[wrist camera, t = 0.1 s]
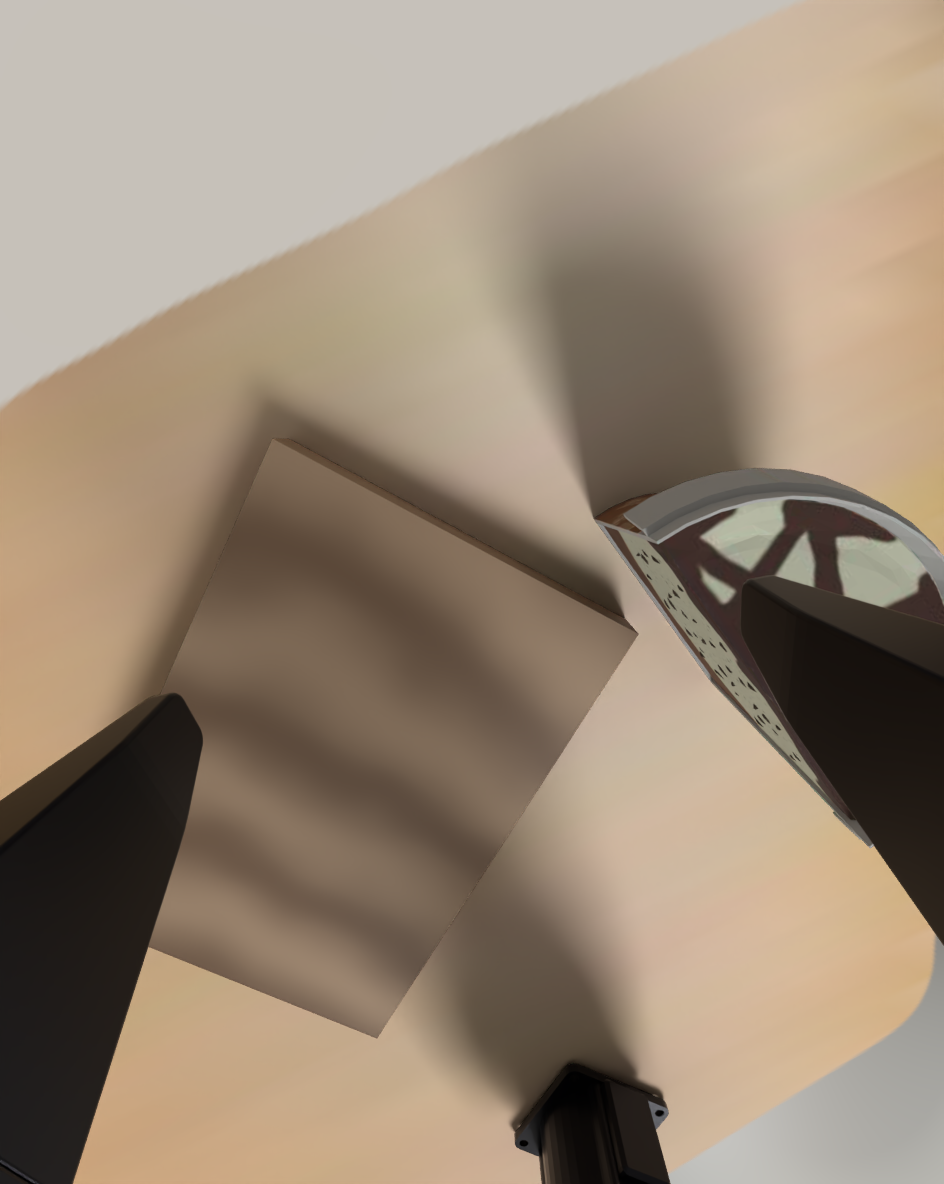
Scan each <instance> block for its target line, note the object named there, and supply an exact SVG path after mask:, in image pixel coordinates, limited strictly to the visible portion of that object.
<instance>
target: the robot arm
mask: <svg viewBox="0 0 944 1184" xmlns="http://www.w3.org/2000/svg"><path fill="white" fill-rule="evenodd" d="M740 629H741V634H742V637H743V640H744V642H745V644H746V646H747V648H748V649H749V651H750V653H751V655H752V657H753V659H754V661H755V663H756V664H757V666H758V668H759V670H760V672H761V674H762V676H763V677H764V679H765V681H766V683H767V685H768V687H769V689H770V691H771V692H772V694H773V696H774V698H775V700H776V702H777V704H778V706H779V707H780V709H781V711H782V713H783V714H784V716H785V718H786V720H787V721H788V723H789V724H790V726H791V727H792V729H793V730H794V732H795V733H796V735H797V736H798V738H799V739H800V740H801V742H802V743H803V745H804V746H805V748H806V749H807V750H808V752H809V753H810V755H811V756H812V758H813V759H814V760H815V762H816V763H817V765H818V766H819V768H820V769H821V770H822V772H823V773H824V775H825V776H826V778H827V779H828V781H829V782H830V783H831V785H832V786H833V788H834V789H835V791H836V792H837V793H838V795H839V796H840V798H841V799H842V801H843V802H844V803H845V805H846V806H847V808H848V809H849V811H850V812H851V813H852V815H853V816H854V818H855V819H856V821H857V822H858V824H859V825H860V826H861V828H862V829H863V831H864V832H865V834H866V835H867V836H868V838H869V839H870V841H871V842H872V844H873V845H874V846H875V848H876V849H877V851H878V852H879V854H880V855H881V856H882V858H883V859H884V861H885V862H886V864H887V865H888V867H889V868H890V869H891V871H892V872H893V874H894V875H895V877H896V878H897V879H898V881H899V882H900V884H901V885H902V887H903V888H904V889H905V891H906V892H907V894H908V895H909V897H910V898H911V899H912V901H913V902H914V904H915V905H916V907H917V908H918V910H919V911H920V912H921V914H922V915H923V917H924V918H925V920H926V921H927V922H928V924H929V925H930V927H931V928H932V930H933V931H934V932H935V934H936V935H937V937H938V938H939V940H940V941H941V942H942V944H943V945H944V625H943V624H939V623H936V622H932V621H929V620H925V619H922V618H919V617H915V616H912V615H908V614H905V613H901V612H898V611H895V610H891V609H888V608H884V607H881V606H877V605H874V604H870V603H867V602H864V601H860V600H857V599H853V598H850V597H846V596H843V595H839V594H836V593H833V592H829V591H826V590H822V589H819V588H815V587H812V586H809V585H805V584H802V583H798V582H795V581H791V580H788V579H784V578H781V577H778V576H774V575H768V576H763V577H758V578H753V579H749V580H746V581H745V582H744V584H743V586H742V591H741V615H740ZM202 747H203V735H202V731H201V729H200V727H199V725H198V723H197V722H196V720H195V718H194V716H193V715H192V713H191V711H190V709H189V708H188V706H187V704H186V702H185V700H184V699H183V698H182V696H180V695H179V694H177V693H167V694H162V695H157V696H152V697H150V698H148V699H146V700H145V701H143V702H142V703H140V704H139V705H138V706H136V707H135V708H133V709H132V710H130V711H129V712H127V713H126V714H125V715H123V716H122V717H120V718H119V719H117V720H116V721H114V722H113V723H112V724H110V725H109V726H107V727H106V728H104V729H103V730H102V731H100V732H99V733H97V734H96V735H94V736H93V737H91V738H90V739H89V740H87V741H86V742H84V743H83V744H81V745H80V746H78V747H77V748H76V749H74V750H73V751H71V752H70V753H68V754H67V755H65V756H64V757H63V758H61V759H60V760H58V761H57V762H55V763H54V764H52V765H51V766H50V767H48V768H47V769H45V770H44V771H42V772H41V773H40V774H38V775H37V776H35V777H34V778H32V779H31V780H29V781H28V782H27V783H25V784H24V785H22V786H21V787H19V788H18V789H16V790H15V791H14V792H12V793H11V794H9V795H8V796H6V797H5V798H3V799H2V800H1V801H0V1184H73V1181H74V1178H75V1175H76V1172H77V1169H78V1166H79V1163H80V1159H81V1156H82V1153H83V1150H84V1147H85V1144H86V1141H87V1137H88V1134H89V1131H90V1128H91V1125H92V1122H93V1119H94V1115H95V1112H96V1109H97V1106H98V1103H99V1100H100V1097H101V1093H102V1090H103V1087H104V1084H105V1081H106V1078H107V1075H108V1072H109V1068H110V1065H111V1062H112V1059H113V1056H114V1053H115V1050H116V1046H117V1043H118V1040H119V1037H120V1034H121V1031H122V1028H123V1024H124V1021H125V1018H126V1015H127V1012H128V1009H129V1006H130V1002H131V999H132V996H133V993H134V990H135V987H136V984H137V981H138V977H139V974H140V971H141V968H142V965H143V962H144V959H145V955H146V952H147V949H148V946H149V943H150V940H151V937H152V933H153V930H154V927H155V924H156V921H157V918H158V915H159V911H160V908H161V905H162V902H163V899H164V896H165V893H166V890H167V886H168V883H169V880H170V877H171V874H172V871H173V868H174V864H175V861H176V858H177V855H178V852H179V849H180V846H181V842H182V839H183V835H184V832H185V828H186V823H187V819H188V815H189V810H190V805H191V800H192V795H193V791H194V786H195V781H196V776H197V771H198V766H199V761H200V756H201V751H202ZM668 1114H669V1113H668V1108H667V1105H666V1102H665V1101H664V1100H662V1099H660V1098H658V1097H655V1096H653V1095H650V1094H648V1093H646V1092H643V1091H641V1090H638V1089H636V1088H634V1087H631V1086H629V1085H626V1084H624V1083H622V1082H619V1081H617V1080H614V1079H612V1078H610V1077H607V1076H605V1075H602V1074H600V1073H597V1072H595V1071H593V1070H590V1069H588V1068H585V1067H583V1066H581V1065H578V1064H569V1065H567V1066H566V1067H565V1068H564V1069H563V1071H562V1072H561V1073H560V1075H559V1076H558V1077H557V1079H556V1080H555V1081H554V1082H553V1084H552V1085H551V1086H550V1088H549V1089H548V1090H547V1092H546V1093H545V1094H544V1096H543V1097H542V1098H541V1099H540V1101H539V1102H538V1103H537V1105H536V1106H535V1107H534V1109H533V1110H532V1111H531V1112H530V1114H529V1115H528V1116H527V1118H526V1119H525V1120H524V1122H523V1123H522V1124H521V1126H520V1127H519V1128H518V1129H517V1131H516V1132H515V1145H516V1147H517V1148H519V1149H521V1150H524V1151H526V1152H529V1153H531V1154H534V1155H536V1156H539V1161H540V1171H541V1181H542V1184H671V1183H670V1180H669V1176H668V1172H667V1169H666V1165H665V1161H664V1158H663V1154H662V1150H661V1147H660V1143H659V1139H658V1136H657V1132H656V1129H657V1128H658V1127H659V1125H660V1124H661V1123H662V1122H663V1121H664V1120H665V1118H666V1117H667V1116H668Z"/></svg>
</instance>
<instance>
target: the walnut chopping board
mask: <svg viewBox="0 0 944 1184" xmlns="http://www.w3.org/2000/svg"><path fill="white" fill-rule="evenodd" d="M637 636H638V633H637V632H636V631H635V629H634V628H633V627H632V626H631V625H630V624H629V623H628V621H627V620H626V619H624V618H622V617H621V616H619V615H617V614H615V613H613V612H611V611H609V610H607V609H606V608H604V607H602V606H600V605H598V604H596V603H594V602H593V601H591V600H589V599H587V598H585V597H583V596H581V595H579V594H578V593H576V592H574V591H572V590H570V589H568V588H566V587H565V586H563V585H561V584H559V583H557V582H555V581H553V580H551V579H550V578H548V577H546V576H544V575H542V574H540V573H538V572H537V571H535V570H533V569H531V568H529V567H527V566H525V565H523V564H522V563H520V562H518V561H516V560H514V559H512V558H510V557H509V556H507V555H505V554H503V553H501V552H499V551H497V550H495V549H494V548H492V547H490V546H488V545H486V544H484V543H482V542H481V541H479V540H477V539H475V538H473V537H471V536H469V535H467V534H466V533H464V532H462V531H460V530H458V529H456V528H454V527H453V526H451V525H449V524H447V523H445V522H443V521H441V520H439V519H438V518H436V517H434V516H432V515H430V514H428V513H426V512H425V511H423V510H421V509H419V508H417V507H415V506H413V505H411V504H410V503H408V502H406V501H404V500H402V499H400V498H398V497H397V496H395V495H393V494H391V493H389V492H387V491H385V490H383V489H382V488H380V487H378V486H376V485H374V484H372V483H370V482H369V481H367V480H365V479H363V478H361V477H359V476H357V475H355V474H354V473H352V472H350V471H348V470H346V469H344V468H342V467H341V466H339V465H337V464H335V463H333V462H331V461H329V460H328V459H326V458H324V457H322V456H320V455H318V454H316V453H314V452H313V451H311V450H309V449H307V448H305V447H303V446H301V445H300V444H298V443H296V442H294V441H292V440H290V439H272V440H271V443H270V445H269V447H268V450H267V452H266V454H265V456H264V459H263V461H262V463H261V466H260V468H259V470H258V472H257V475H256V477H255V479H254V481H253V484H252V486H251V488H250V491H249V493H248V495H247V497H246V500H245V502H244V504H243V507H242V509H241V511H240V513H239V516H238V518H237V520H236V523H235V525H234V527H233V529H232V532H231V534H230V536H229V538H228V541H227V543H226V545H225V548H224V550H223V552H222V554H221V557H220V559H219V561H218V564H217V566H216V568H215V570H214V573H213V575H212V577H211V579H210V582H209V584H208V586H207V589H206V591H205V593H204V595H203V598H202V600H201V602H200V605H199V607H198V609H197V611H196V614H195V616H194V618H193V620H192V623H191V625H190V627H189V630H188V632H187V634H186V636H185V639H184V641H183V643H182V646H181V648H180V650H179V652H178V655H177V657H176V659H175V661H174V664H173V666H172V668H171V671H170V673H169V675H168V677H167V680H166V682H165V684H164V687H163V689H162V691H161V693H160V695H162V694H167V693H177V694H179V695H180V696H182V698H183V699H184V700H185V702H186V704H187V706H188V708H189V709H190V711H191V713H192V715H193V716H194V718H195V720H196V722H197V723H198V725H199V727H200V729H201V731H202V735H203V747H202V751H201V756H200V761H199V766H198V771H197V776H196V781H195V786H194V791H193V795H192V800H191V805H190V810H189V815H188V819H187V823H186V828H185V832H184V835H183V839H182V842H181V846H180V849H179V852H178V855H177V858H176V861H175V864H174V868H173V871H172V874H171V877H170V880H169V883H168V886H167V890H166V893H165V896H164V899H163V902H162V905H161V908H160V911H159V915H158V918H157V921H156V924H155V927H154V930H153V933H152V937H151V940H150V943H149V946H148V947H150V948H153V949H155V950H158V951H160V952H163V953H165V954H168V955H170V956H173V957H175V958H178V959H180V960H183V961H185V962H188V963H190V964H193V965H195V966H198V967H200V968H203V969H205V970H208V971H210V972H213V973H215V974H218V975H220V976H223V977H225V978H228V979H230V980H233V981H235V982H238V983H240V984H242V985H245V986H247V987H250V988H252V989H255V990H257V991H260V992H262V993H265V994H267V995H270V996H272V997H275V998H277V999H280V1000H282V1001H285V1002H287V1003H290V1004H292V1005H295V1006H297V1007H300V1008H302V1009H305V1010H307V1011H310V1012H312V1013H315V1014H317V1015H320V1016H322V1017H325V1018H327V1019H330V1020H332V1021H335V1022H337V1023H340V1024H342V1025H345V1026H347V1027H350V1028H352V1029H355V1030H357V1031H360V1032H362V1033H365V1034H367V1035H370V1036H372V1037H375V1038H378V1036H379V1035H380V1033H381V1031H382V1030H383V1028H384V1027H385V1025H386V1024H387V1022H388V1021H389V1019H390V1018H391V1016H392V1014H393V1013H394V1011H395V1010H396V1008H397V1007H398V1005H399V1004H400V1002H401V1001H402V999H403V997H404V996H405V994H406V993H407V991H408V990H409V988H410V987H411V985H412V984H413V982H414V980H415V979H416V977H417V976H418V974H419V973H420V971H421V970H422V968H423V967H424V965H425V963H426V962H427V960H428V959H429V957H430V956H431V954H432V953H433V951H434V950H435V948H436V946H437V945H438V943H439V942H440V940H441V939H442V937H443V936H444V934H445V933H446V931H447V929H448V928H449V926H450V925H451V923H452V922H453V920H454V919H455V917H456V916H457V914H458V912H459V911H460V909H461V908H462V906H463V905H464V903H465V902H466V900H467V899H468V897H469V895H470V894H471V892H472V891H473V889H474V888H475V886H476V885H477V883H478V882H479V880H480V878H481V877H482V875H483V874H484V872H485V871H486V869H487V868H488V866H489V865H490V863H491V861H492V860H493V858H494V857H495V855H496V854H497V852H498V851H499V849H500V848H501V846H502V844H503V843H504V841H505V840H506V838H507V837H508V835H509V834H510V832H511V831H512V829H513V827H514V826H515V824H516V823H517V821H518V820H519V818H520V817H521V815H522V814H523V812H524V810H525V809H526V807H527V806H528V804H529V803H530V801H531V800H532V798H533V797H534V795H535V793H536V792H537V790H538V789H539V787H540V786H541V784H542V783H543V781H544V780H545V778H546V776H547V775H548V773H549V772H550V770H551V769H552V767H553V766H554V764H555V763H556V761H557V759H558V758H559V756H560V755H561V753H562V752H563V750H564V749H565V747H566V746H567V744H568V742H569V741H570V739H571V738H572V736H573V735H574V733H575V732H576V730H577V729H578V727H579V725H580V724H581V722H582V721H583V719H584V718H585V716H586V715H587V713H588V712H589V710H590V708H591V707H592V705H593V704H594V702H595V701H596V699H597V698H598V696H599V695H600V693H601V691H602V690H603V688H604V687H605V685H606V684H607V682H608V681H609V679H610V678H611V676H612V674H613V673H614V671H615V670H616V668H617V667H618V665H619V664H620V662H621V661H622V659H623V657H624V656H625V654H626V653H627V651H628V650H629V648H630V647H631V645H632V644H633V642H634V640H635V639H636V637H637Z"/></svg>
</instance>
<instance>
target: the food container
mask: <svg viewBox="0 0 944 1184" xmlns="http://www.w3.org/2000/svg"><path fill="white" fill-rule="evenodd" d="M594 520H595V521H596V523H597V524H598V525H599V527H600V528H601V530H602V531H603V532H604V534H605V535H606V537H607V538H608V539H609V541H610V542H611V544H612V545H613V546H614V548H615V549H616V551H617V552H618V553H619V555H620V556H621V557H622V559H623V560H624V562H625V563H626V564H627V566H628V567H629V569H630V570H631V571H632V573H633V574H634V576H635V577H636V578H637V580H638V581H639V583H640V584H641V585H642V587H643V588H644V589H645V591H646V592H647V594H648V595H649V596H650V598H651V599H652V601H653V602H654V603H655V605H656V606H657V608H658V609H659V610H660V612H661V613H662V615H663V616H664V617H665V619H666V620H667V622H668V623H669V624H670V626H671V627H672V628H673V630H674V631H675V633H676V634H677V635H678V637H679V638H680V640H681V641H682V642H683V644H684V645H685V647H686V648H687V649H688V651H689V652H690V654H691V655H692V656H693V658H694V659H695V660H696V662H697V663H698V665H699V666H700V667H701V669H702V670H703V672H704V673H705V674H706V676H707V677H708V679H709V680H710V681H711V683H712V684H713V685H714V686H715V687H716V688H717V689H718V690H719V691H720V692H721V693H722V694H723V695H724V696H725V697H726V698H727V699H728V700H729V701H730V703H731V704H732V705H733V706H734V707H735V708H736V709H737V710H738V711H739V712H740V713H741V714H742V715H743V716H744V717H745V718H746V719H747V720H748V721H749V722H750V723H751V725H752V726H753V727H754V728H755V729H756V730H757V731H758V732H759V733H760V734H761V735H762V736H763V737H764V738H765V739H766V740H767V741H768V742H769V743H770V744H771V745H772V747H773V748H774V749H775V750H776V751H777V752H778V753H779V754H780V755H781V756H782V757H783V758H784V759H785V760H786V761H787V762H788V763H789V764H790V765H791V766H792V767H793V769H794V770H795V771H796V772H797V773H798V774H799V775H800V776H801V777H802V778H803V779H804V780H805V781H806V782H807V783H808V784H809V785H810V786H811V787H812V788H813V789H814V791H815V792H816V793H817V794H818V795H819V796H820V797H821V798H822V799H823V800H824V801H825V802H826V803H827V804H828V805H829V806H830V807H831V808H832V809H833V810H834V812H833V813H834V815H835V816H836V817H837V818H838V819H839V820H840V821H841V822H842V823H843V824H844V825H845V826H846V827H847V828H848V829H849V830H850V831H851V832H853V833H854V834H855V835H856V836H857V837H858V838H859V839H861V840H862V841H863V842H864V843H865V844H866V845H867V846H868V847H869V848H872V847H873V846H874V845H873V844H872V842H871V841H870V839H869V838H868V836H867V835H866V834H865V832H864V831H863V829H862V828H861V826H860V825H859V824H858V822H857V821H856V819H855V818H854V816H853V815H852V813H851V812H850V811H849V809H848V808H847V806H846V805H845V803H844V802H843V801H842V799H841V798H840V796H839V795H838V793H837V792H836V791H835V789H834V788H833V786H832V785H831V783H830V782H829V781H828V779H827V778H826V776H825V775H824V773H823V772H822V770H821V769H820V768H819V766H818V765H817V763H816V762H815V760H814V759H813V758H812V756H811V755H810V753H809V752H808V750H807V749H806V748H805V746H804V745H803V743H802V742H801V740H800V739H799V738H798V736H797V735H796V733H795V732H794V730H793V729H792V727H791V726H790V724H789V723H788V721H787V720H786V718H785V716H784V714H783V713H782V711H781V709H780V707H779V706H778V704H777V702H776V700H775V698H774V696H773V694H772V692H771V691H770V689H769V687H768V685H767V683H766V681H765V679H764V677H763V676H762V674H761V672H760V670H759V668H758V666H757V664H756V663H755V661H754V659H753V657H752V655H751V653H750V651H749V649H748V648H747V646H746V644H745V642H744V640H743V637H742V634H741V629H740V615H741V591H742V586H743V584H744V582H745V581H746V580H749V579H753V578H758V577H763V576H768V575H774V576H778V577H781V578H784V579H788V580H791V581H795V582H798V583H802V584H805V585H809V586H812V587H815V588H819V589H822V590H826V591H829V592H833V593H836V594H839V595H843V596H846V597H850V598H853V599H857V600H860V601H864V602H867V603H870V604H874V605H877V606H881V607H884V608H888V609H891V610H895V611H898V612H901V613H905V614H908V615H912V616H915V617H919V618H922V619H925V620H929V621H932V622H936V623H939V624H943V625H944V556H943V555H942V554H941V553H940V551H939V550H938V548H937V547H936V545H935V544H934V543H933V542H932V541H931V540H929V539H928V538H927V537H926V536H925V535H924V534H923V533H922V532H921V531H920V530H919V529H918V528H917V527H916V526H915V525H914V524H913V523H912V522H910V521H909V520H907V519H906V518H904V517H902V516H901V515H899V514H898V513H896V512H895V511H893V510H892V509H890V508H889V507H887V506H886V505H884V504H882V503H880V502H878V501H876V500H874V499H872V498H871V497H869V496H867V495H865V494H863V493H861V492H859V491H857V490H855V489H853V488H850V487H848V486H846V485H843V484H841V483H838V482H836V481H833V480H831V479H828V478H826V477H823V476H818V475H813V474H809V473H804V472H799V471H794V470H787V469H764V468H752V469H743V470H735V471H726V472H719V473H715V474H711V475H708V476H704V477H701V478H697V479H693V480H690V481H686V482H683V483H681V484H679V485H676V486H674V487H672V488H670V489H667V490H665V491H663V492H661V493H654V494H647V495H643V496H639V497H636V498H632V499H629V500H626V501H624V502H622V503H620V504H618V505H615V506H613V507H611V508H609V509H608V510H606V511H605V512H603V513H602V514H600V515H599V516H597V517H595V518H594Z"/></svg>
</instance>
